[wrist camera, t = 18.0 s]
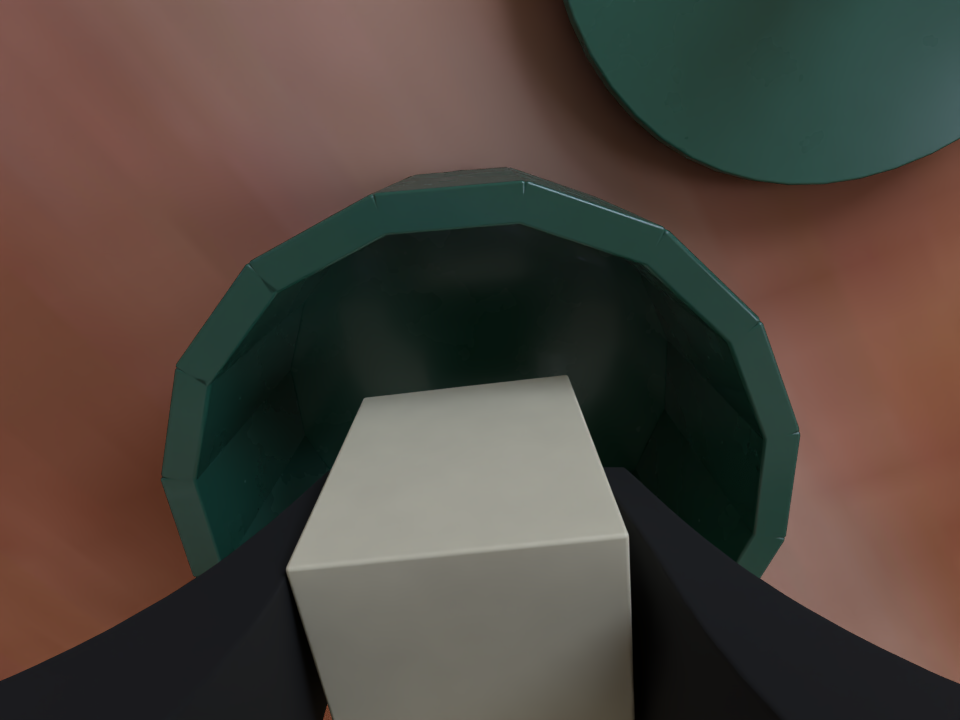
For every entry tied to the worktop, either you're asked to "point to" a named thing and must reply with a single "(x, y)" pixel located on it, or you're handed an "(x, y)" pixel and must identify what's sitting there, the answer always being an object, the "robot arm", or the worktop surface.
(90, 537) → the worktop surface
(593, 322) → the tea tin
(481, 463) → the block
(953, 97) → the tin lid
